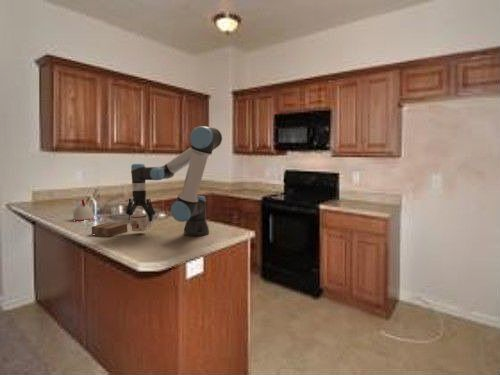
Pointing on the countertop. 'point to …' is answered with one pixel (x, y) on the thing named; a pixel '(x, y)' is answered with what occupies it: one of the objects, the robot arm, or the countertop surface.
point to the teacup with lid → (139, 221)
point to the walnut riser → (109, 229)
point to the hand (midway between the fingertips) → (140, 226)
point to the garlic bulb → (83, 212)
